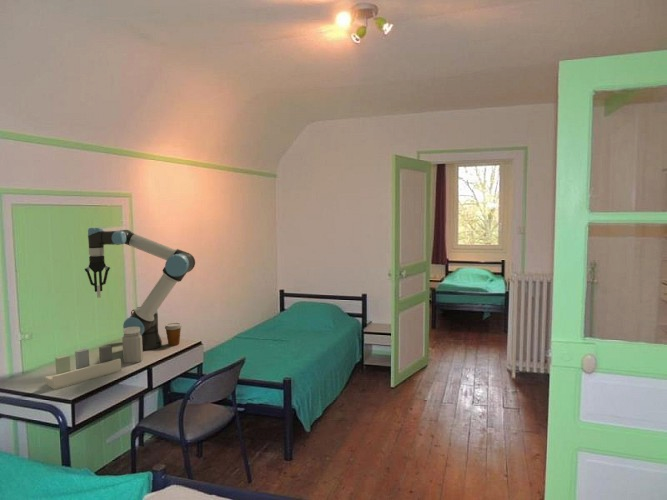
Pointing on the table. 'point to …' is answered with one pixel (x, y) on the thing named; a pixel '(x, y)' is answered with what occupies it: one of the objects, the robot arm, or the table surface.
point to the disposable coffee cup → (173, 333)
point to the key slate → (82, 358)
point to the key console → (83, 374)
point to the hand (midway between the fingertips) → (98, 297)
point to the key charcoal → (105, 353)
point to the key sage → (62, 364)
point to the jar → (132, 345)
